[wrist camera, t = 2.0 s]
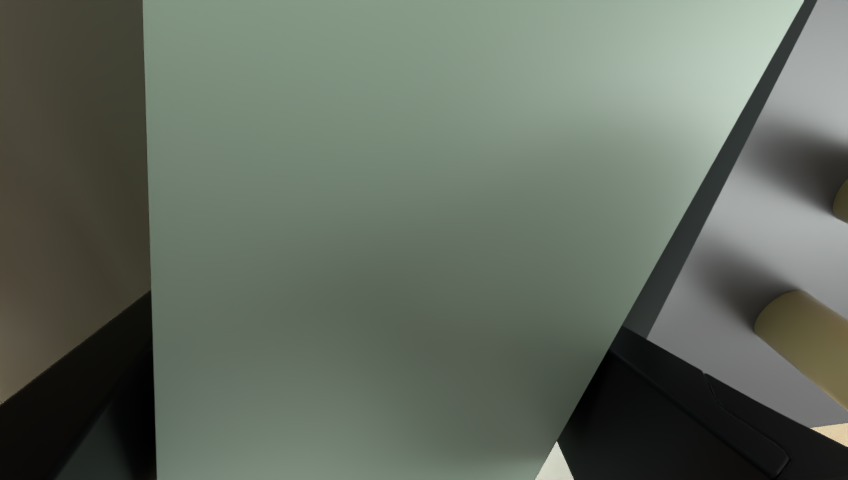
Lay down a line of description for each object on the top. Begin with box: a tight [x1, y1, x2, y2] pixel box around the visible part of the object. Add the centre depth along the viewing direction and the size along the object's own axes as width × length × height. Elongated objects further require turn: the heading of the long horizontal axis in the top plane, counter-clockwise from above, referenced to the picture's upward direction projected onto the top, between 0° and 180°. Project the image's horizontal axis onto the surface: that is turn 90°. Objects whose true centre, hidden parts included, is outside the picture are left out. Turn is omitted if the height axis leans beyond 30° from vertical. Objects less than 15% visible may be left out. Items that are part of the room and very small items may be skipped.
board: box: [143, 0, 804, 480], centre depth 8 cm, size 14×6×4 cm, turn 165°
